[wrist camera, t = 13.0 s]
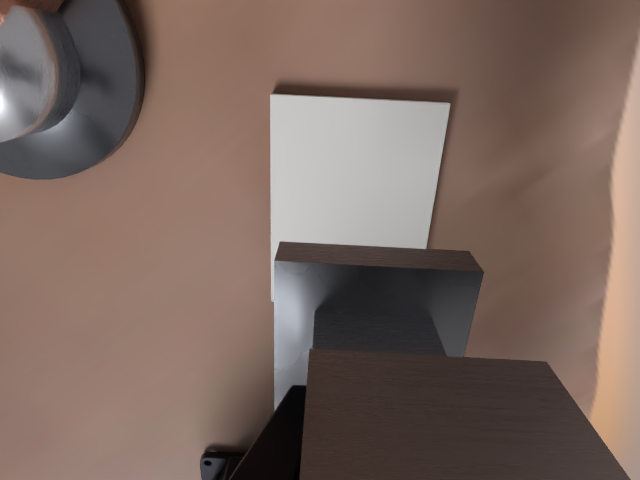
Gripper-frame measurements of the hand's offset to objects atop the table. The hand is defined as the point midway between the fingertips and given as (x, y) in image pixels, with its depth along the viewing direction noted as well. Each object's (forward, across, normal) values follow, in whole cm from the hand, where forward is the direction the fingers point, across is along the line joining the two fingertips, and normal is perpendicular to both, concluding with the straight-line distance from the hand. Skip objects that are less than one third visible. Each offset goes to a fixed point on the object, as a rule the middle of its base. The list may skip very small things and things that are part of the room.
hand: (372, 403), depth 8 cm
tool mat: (+12, 0, 0) cm, 12 cm away
